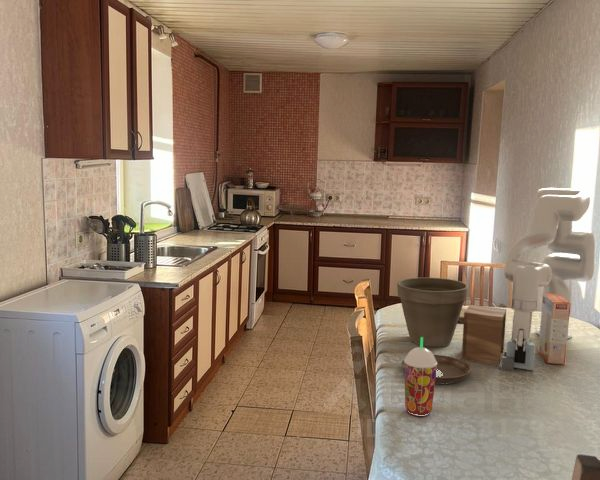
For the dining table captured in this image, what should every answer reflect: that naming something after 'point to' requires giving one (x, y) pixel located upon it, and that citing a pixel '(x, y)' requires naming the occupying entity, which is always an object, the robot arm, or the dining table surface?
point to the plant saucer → (449, 369)
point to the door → (529, 354)
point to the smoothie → (419, 380)
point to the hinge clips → (507, 363)
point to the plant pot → (432, 308)
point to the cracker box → (554, 328)
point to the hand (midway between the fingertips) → (520, 360)
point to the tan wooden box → (483, 334)
